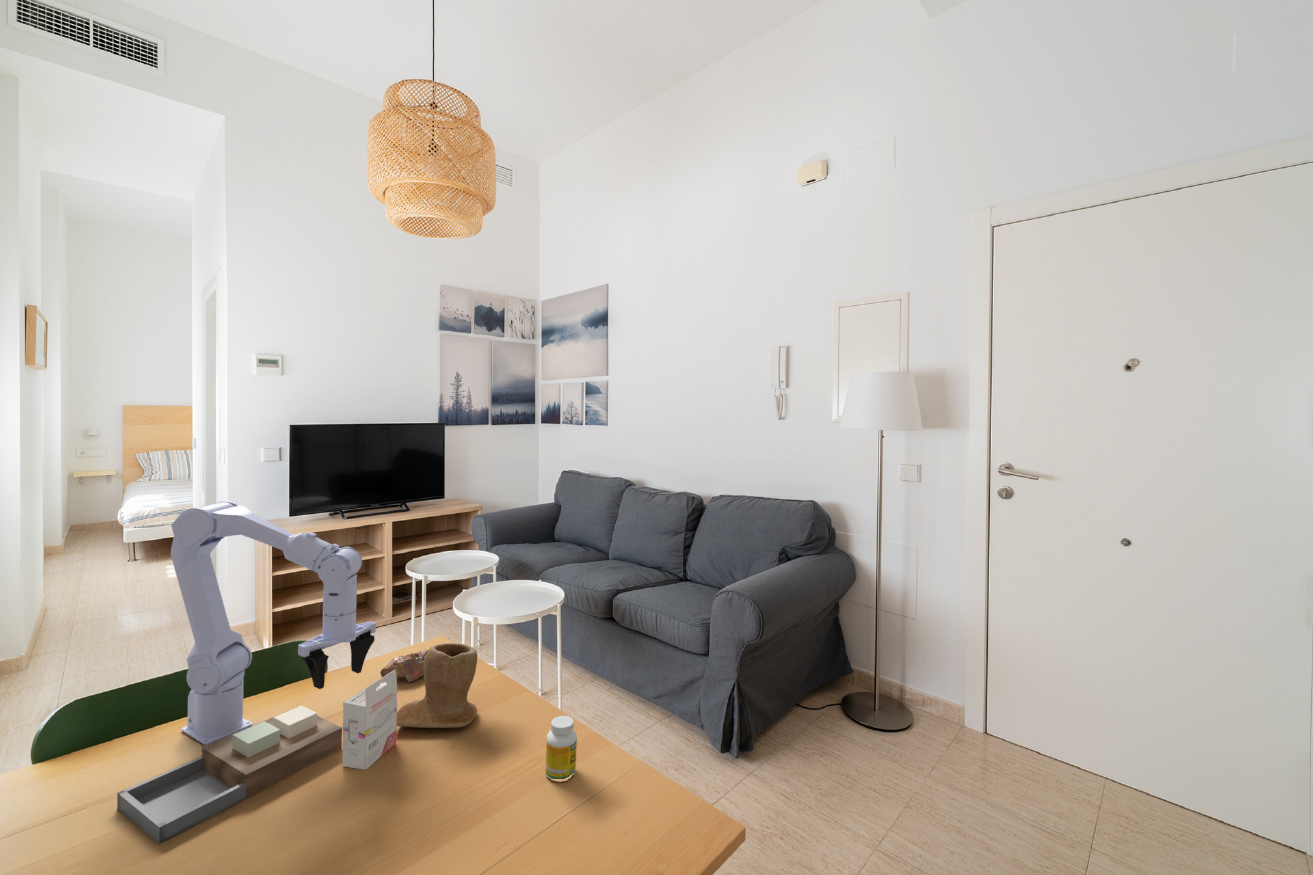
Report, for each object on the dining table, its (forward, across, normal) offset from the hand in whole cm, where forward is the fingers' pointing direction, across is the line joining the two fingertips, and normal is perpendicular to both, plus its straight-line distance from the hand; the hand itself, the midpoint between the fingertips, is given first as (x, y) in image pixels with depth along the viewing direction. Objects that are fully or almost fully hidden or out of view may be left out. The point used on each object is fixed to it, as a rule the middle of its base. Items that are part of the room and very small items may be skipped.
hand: (338, 679), depth 109 cm
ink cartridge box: (+10, -2, -13) cm, 17 cm away
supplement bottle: (+10, +12, -46) cm, 49 cm away
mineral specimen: (+10, +22, +7) cm, 25 cm away
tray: (+10, -25, 0) cm, 27 cm away
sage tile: (+6, -14, 0) cm, 16 cm away
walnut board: (+10, -12, 0) cm, 15 cm away
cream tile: (+6, -8, 0) cm, 10 cm away
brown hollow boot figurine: (+10, +13, -14) cm, 22 cm away
